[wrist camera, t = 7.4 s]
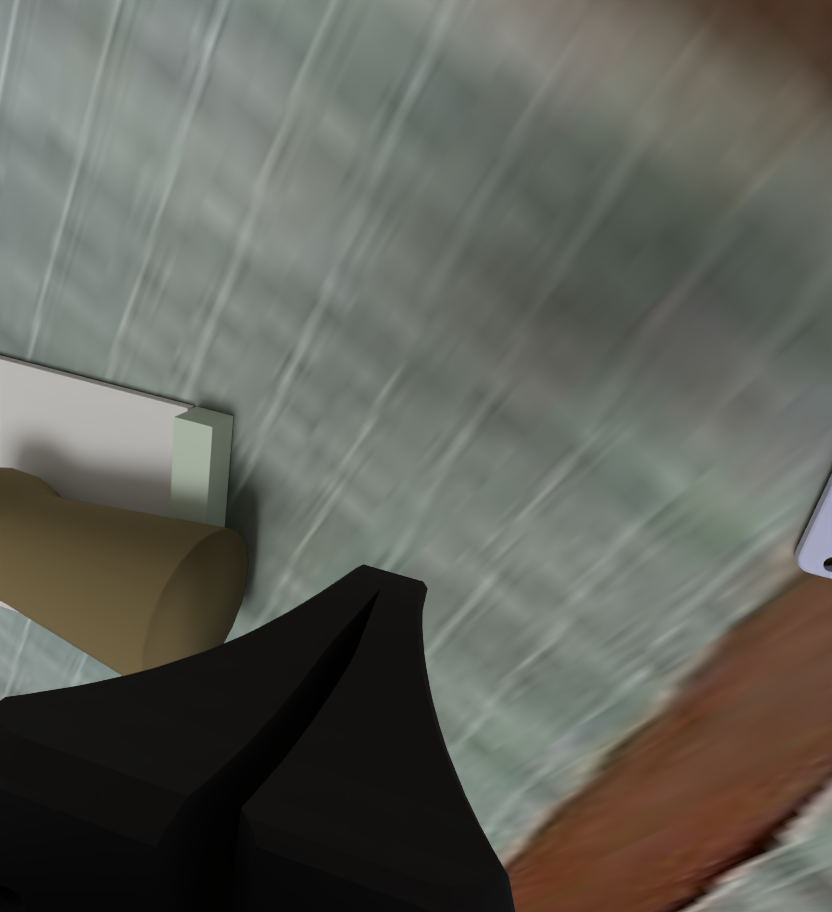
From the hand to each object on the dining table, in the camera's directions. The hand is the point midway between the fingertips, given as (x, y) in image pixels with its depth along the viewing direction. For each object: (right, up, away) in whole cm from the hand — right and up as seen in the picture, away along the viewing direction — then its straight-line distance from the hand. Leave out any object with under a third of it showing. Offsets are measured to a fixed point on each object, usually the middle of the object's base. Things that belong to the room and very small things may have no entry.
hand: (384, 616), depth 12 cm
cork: (-7, -2, +10) cm, 12 cm away
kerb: (-8, -1, +14) cm, 16 cm away
